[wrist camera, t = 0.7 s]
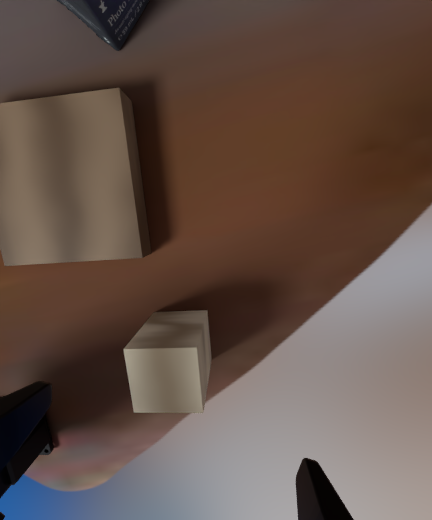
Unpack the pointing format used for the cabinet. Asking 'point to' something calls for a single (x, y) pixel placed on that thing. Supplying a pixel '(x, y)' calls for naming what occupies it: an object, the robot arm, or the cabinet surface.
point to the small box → (108, 17)
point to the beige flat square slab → (71, 180)
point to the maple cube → (170, 363)
